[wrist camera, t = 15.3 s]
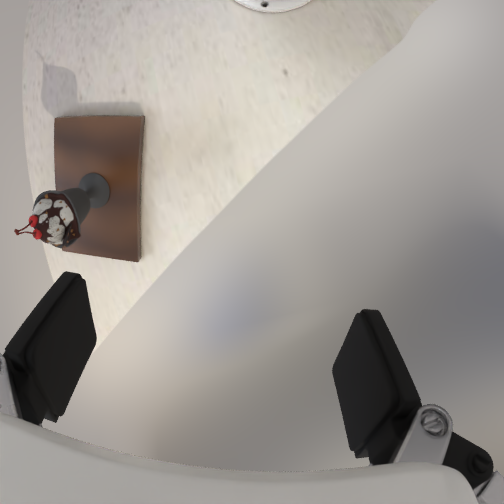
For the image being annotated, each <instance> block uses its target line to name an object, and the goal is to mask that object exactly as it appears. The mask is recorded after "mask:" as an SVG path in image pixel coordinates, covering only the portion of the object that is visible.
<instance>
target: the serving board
mask: <svg viewBox="0 0 504 504" xmlns="http://www.w3.org/2000/svg"><path fill="white" fill-rule="evenodd" d="M144 119H145V116H122V115H102V116H68V117H57V118H55V123H54V161H55V184H56V191H64V190H66V189H71V188H79V183H80V181H81V179H82V178H83V177H84V176H85V175H86V174H89V173H96V174H99V175H101V176H102V177H103V178H104V179H105V180H106V182H107V183H108V186H109V190H110V195H109V199H108V201H107V203H106V204H105V205H104V206H102V207H100V208H91V207H90V211H89V213H88V215H87V216H86V218H85V219H84V221H83V222H82V223H81V225H80V228H81V231H80V234H81V236H80V237H79V238H78V239H77V240H76V242H74V243H73V244H72V245H70V246H69V247H66V248H65V249H64V250H63V251H66V252H73V253H79V254H86V255H92V256H99V257H105V258H112V259H119V260H126V261H133V262H139V260H140V258H141V228H140V205H141V167H142V147H143V132H144Z"/></svg>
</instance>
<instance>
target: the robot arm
mask: <svg viewBox="0 0 504 504" xmlns="http://www.w3.org/2000/svg"><path fill="white" fill-rule="evenodd" d="M235 1H236V2H237V3H239V4H241V5H243V6H245V7H247V8H251V9H254V10H257V11H263V12H284V11H289V10H293V9H297V8H299V7H301V6H303V5H305V4H306V3H308V2H309V1H311V0H235ZM262 5H266V6H267V7H263V6H262ZM96 340H97V337H96V332H95V327H94V323H93V318H92V313H91V308H90V303H89V298H88V292H87V286H86V281H85V279H82V276H81V275H80V274H78V273H72V272H67V271H66V272H64V273H63V274H62V275H61V276H60V277H59V278H58V280H57V281H56V282H55V283H54V284H53V286H52V287H51V288H50V289H49V291H48V292H47V293H46V294H45V296H44V297H43V298H42V299H41V301H40V302H39V303H38V304H37V306H36V307H35V308H34V310H33V311H32V312H31V313H30V315H29V316H28V317H27V319H26V320H25V321H24V323H23V324H22V326H21V327H20V328H19V330H18V331H17V332H16V334H15V335H14V337H13V338H12V339H11V341H10V342H9V344H8V345H7V347H6V348H5V353H4V354H3V355H2V354H1V353H0V504H504V477H503V476H502V475H501V474H500V473H499V472H498V471H495V472H493V461H492V459H491V457H490V455H489V454H488V453H487V452H486V451H485V450H483V449H482V448H480V447H478V446H476V445H475V444H473V443H471V442H470V441H468V440H466V439H464V438H462V437H461V436H459V435H457V434H456V433H454V432H452V431H453V422H452V419H451V417H450V415H449V414H448V413H447V411H446V410H445V409H443V408H442V407H440V406H437V405H435V404H427V405H424V406H422V404H421V401H420V400H421V399H420V397H419V395H418V392H417V390H416V387H415V385H414V383H413V381H412V378H411V376H410V374H409V372H408V370H407V367H406V365H405V363H404V361H403V358H402V356H401V354H400V352H399V350H398V348H397V346H396V344H395V342H394V339H393V337H392V335H391V333H390V331H389V329H388V327H387V325H386V323H385V321H384V319H383V317H382V315H381V313H380V312H379V311H378V310H368V309H363V310H362V311H361V312H360V313H357V314H356V315H355V317H354V320H353V322H352V325H351V327H350V329H349V332H348V334H347V336H346V339H345V341H344V343H343V346H342V347H341V350H340V352H339V354H338V356H337V358H336V360H335V363H334V365H333V370H332V371H333V372H332V373H333V377H334V382H335V386H336V389H337V394H338V399H339V403H340V407H341V411H342V415H343V420H344V425H345V429H346V434H347V438H348V443H349V447H350V450H351V451H354V453H355V457H356V458H364V457H369V461H370V465H369V466H367V467H358V468H348V469H336V470H320V471H298V472H297V471H296V472H266V471H241V470H227V469H216V468H206V467H198V466H190V465H183V464H177V463H171V462H165V461H159V460H154V459H149V458H144V457H140V456H135V455H130V454H126V453H122V452H118V451H114V450H111V449H107V448H103V447H100V446H96V445H93V444H90V443H86V442H83V441H80V440H77V439H74V438H71V437H68V436H65V435H62V434H59V433H56V432H53V431H51V430H48V429H45V428H43V427H42V425H41V424H42V421H43V419H44V418H45V419H47V420H50V421H53V422H55V423H56V422H57V420H58V417H59V416H62V415H63V414H64V412H65V410H66V408H67V405H68V403H69V401H70V398H71V396H72V394H73V392H74V389H75V387H76V385H77V383H78V381H79V378H80V376H81V374H82V372H83V370H84V368H85V365H86V363H87V361H88V359H89V357H90V355H91V353H92V351H93V349H94V347H95V345H96Z"/></svg>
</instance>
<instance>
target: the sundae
mask: <svg viewBox="0 0 504 504" xmlns="http://www.w3.org/2000/svg"><path fill="white" fill-rule="evenodd" d="M109 195H110V190H109V186H108V183H107V182H106V180H105V179H104V178H103V177H102V176H101V175H99V174H96V173H89V174H86V175H85V176H84V177H83V178H82V179H81V181H80V183H79V188H71V189H66V190H64V191H46V192H43V193H41V194H40V195H39V196H38V197H37V198H36V201H35V204H34V208H33V214H32V216H31V217H30V218H29V224H28V225H27V226H26V227H24V228H23V229H21V230H24V229H25V228H27V227H28V226H29V225H30V226H31V227H34V229H35V230H34V231H33V233H31V232H26V233H30V234H33V236H34V238H35V239H41V240H42V241H43V242H45V243H50V244H52V245H53V246H55V247H58V248H62V250H64V249H65V248H66V247H69V246H70V245H72V244H73V243H74V242H76V240H77V239H78V238H79V237H80V236H81V234H80V231H81V228H80V225H81V223H82V222H83V221H84V219H85V218H86V216H87V215H88V213H89V211H90V207H91V208H100V207H102V206H104V205H105V204H106V203H107V201H108V199H109ZM21 230H17V229H15V233H16V234H17V235H19V234H22V233H24V232H21V233H18V232H19V231H21Z"/></svg>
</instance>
